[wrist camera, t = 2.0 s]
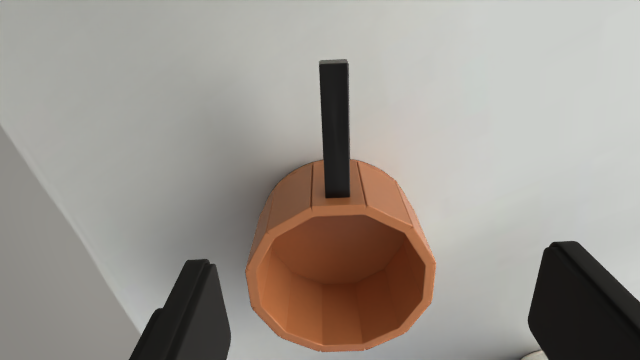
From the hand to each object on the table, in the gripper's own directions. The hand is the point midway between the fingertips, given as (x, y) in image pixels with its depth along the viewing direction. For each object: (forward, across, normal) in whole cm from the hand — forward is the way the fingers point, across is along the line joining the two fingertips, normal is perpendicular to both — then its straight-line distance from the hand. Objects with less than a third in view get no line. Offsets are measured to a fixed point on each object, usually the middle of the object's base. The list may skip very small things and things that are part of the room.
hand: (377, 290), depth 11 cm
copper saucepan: (+18, +1, +5) cm, 19 cm away
